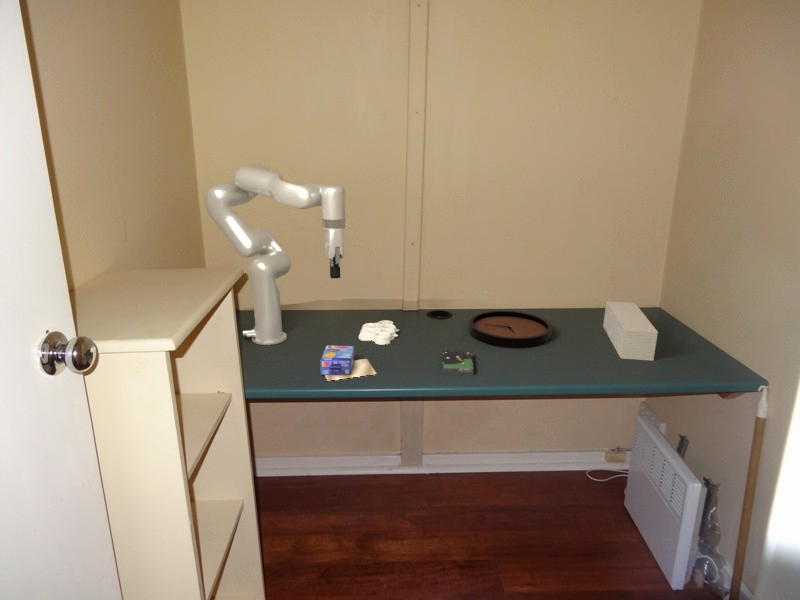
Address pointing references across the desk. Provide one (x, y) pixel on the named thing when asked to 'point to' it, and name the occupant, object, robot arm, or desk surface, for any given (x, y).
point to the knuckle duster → (378, 332)
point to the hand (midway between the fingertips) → (335, 277)
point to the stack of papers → (630, 331)
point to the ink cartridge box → (337, 360)
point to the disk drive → (457, 363)
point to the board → (355, 370)
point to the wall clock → (510, 329)
